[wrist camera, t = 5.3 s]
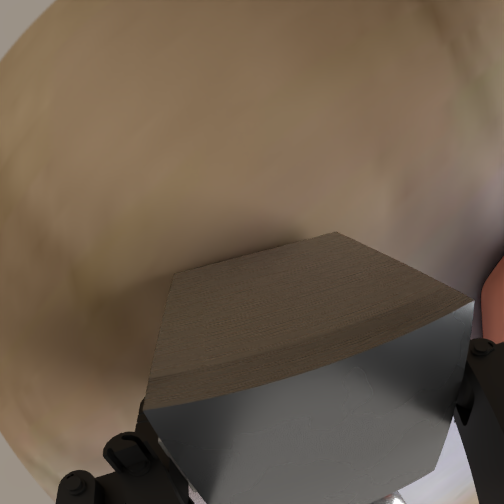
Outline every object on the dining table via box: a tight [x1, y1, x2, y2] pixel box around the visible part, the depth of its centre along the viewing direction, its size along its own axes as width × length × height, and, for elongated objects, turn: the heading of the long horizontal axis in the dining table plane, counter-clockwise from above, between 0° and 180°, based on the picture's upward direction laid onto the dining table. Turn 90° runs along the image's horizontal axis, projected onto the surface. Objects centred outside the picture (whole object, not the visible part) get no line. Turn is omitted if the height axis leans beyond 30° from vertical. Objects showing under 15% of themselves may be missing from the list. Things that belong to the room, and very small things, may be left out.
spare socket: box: [369, 491, 406, 504], centre depth 18 cm, size 4×4×5 cm
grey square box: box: [143, 232, 475, 504], centre depth 10 cm, size 7×7×8 cm
